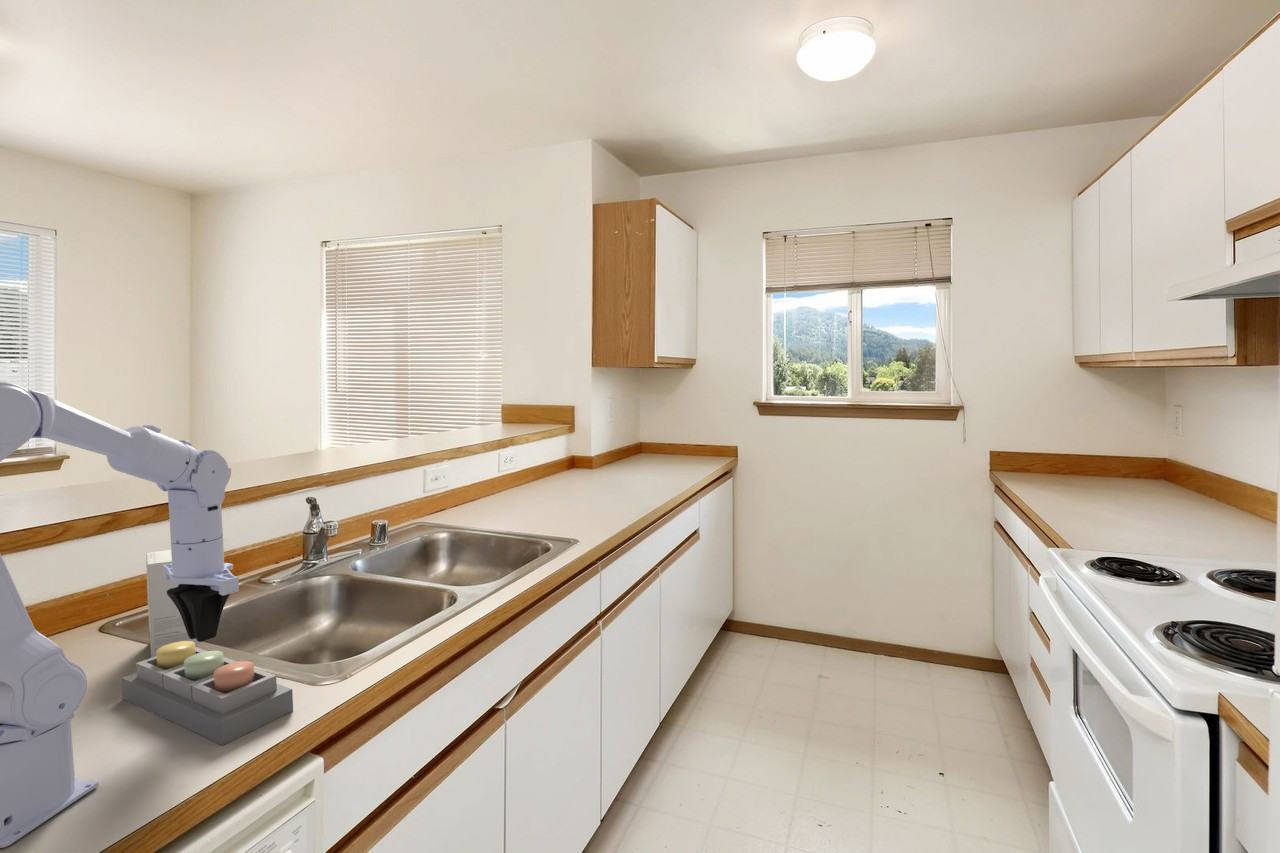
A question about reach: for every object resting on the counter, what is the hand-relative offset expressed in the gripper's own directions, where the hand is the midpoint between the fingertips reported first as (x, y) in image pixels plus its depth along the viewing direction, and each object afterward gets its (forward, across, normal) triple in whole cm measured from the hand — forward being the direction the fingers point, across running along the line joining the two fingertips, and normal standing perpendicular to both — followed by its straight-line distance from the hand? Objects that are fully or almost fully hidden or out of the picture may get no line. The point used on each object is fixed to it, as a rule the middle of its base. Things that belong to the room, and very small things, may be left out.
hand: (202, 637), depth 85 cm
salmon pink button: (+5, -7, 0) cm, 8 cm away
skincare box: (+10, +25, -8) cm, 28 cm away
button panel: (+9, 0, 0) cm, 9 cm away
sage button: (+5, 0, 0) cm, 5 cm away
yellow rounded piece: (+5, +7, 0) cm, 8 cm away
